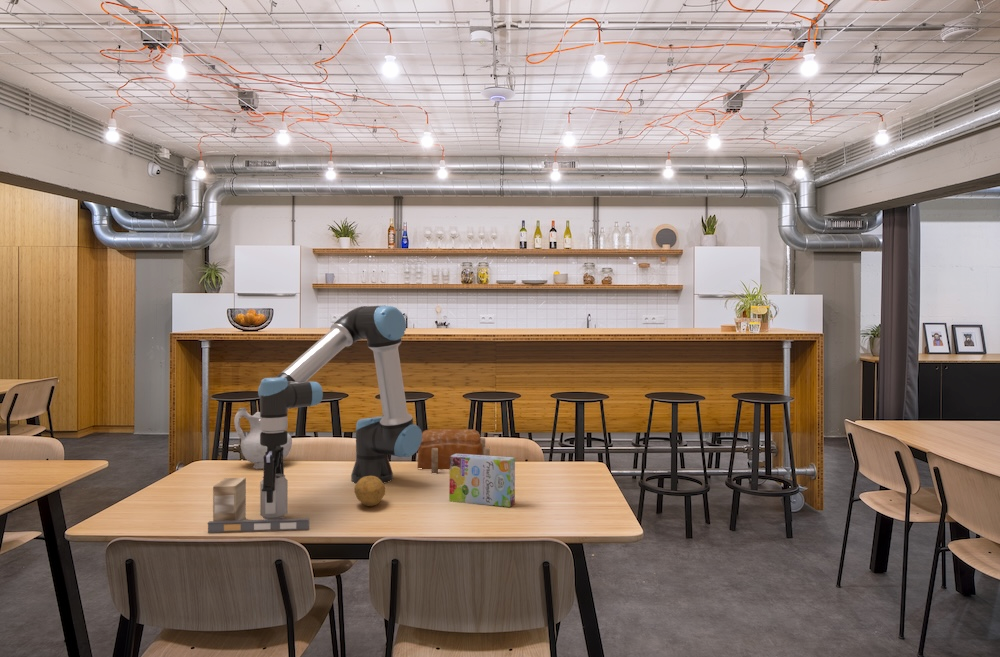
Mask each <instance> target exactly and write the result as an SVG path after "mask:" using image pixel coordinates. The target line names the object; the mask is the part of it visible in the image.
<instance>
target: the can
mask: <svg viewBox="0 0 1000 657" xmlns="http://www.w3.org/2000/svg"><path fill="white" fill-rule="evenodd" d="M263 477H264V475H263V476H262V478H263ZM288 483H289V482H288V479H287V478H286V475H285V473H284V474H276V478H275V490H276V513H275V514H265V491H262V489H263V479H261V481H260V484H259V488H260V494H259V495H260V496H259V498H260V502H259V507H260V510H259V512H260V513H259V514H260V517H262V518H263V520H268V519H283V518H285V516H286V515H287V514H288V510H289V509H288V499H289V498H288V497H289V496H288V486H289V485H288Z"/></svg>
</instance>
